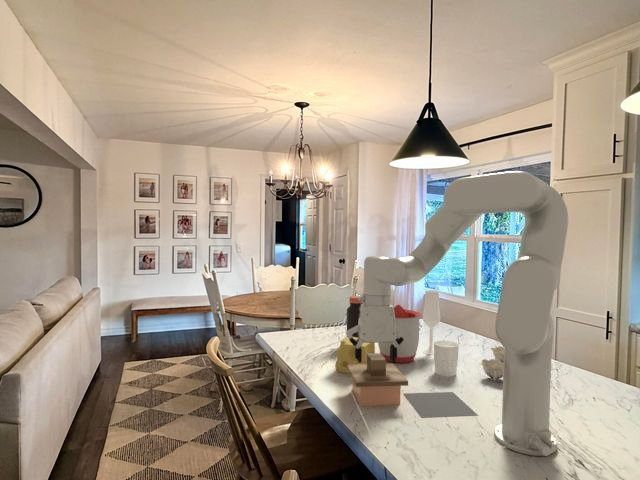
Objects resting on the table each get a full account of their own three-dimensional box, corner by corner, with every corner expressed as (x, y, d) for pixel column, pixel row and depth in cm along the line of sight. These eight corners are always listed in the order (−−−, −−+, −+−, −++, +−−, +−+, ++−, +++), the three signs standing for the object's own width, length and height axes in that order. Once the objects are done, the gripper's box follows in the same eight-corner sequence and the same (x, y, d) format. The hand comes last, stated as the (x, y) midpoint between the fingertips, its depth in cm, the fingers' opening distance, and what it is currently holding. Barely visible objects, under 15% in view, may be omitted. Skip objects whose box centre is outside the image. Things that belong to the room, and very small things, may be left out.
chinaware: (490, 362, 152) (486, 318, 152) (540, 365, 144) (536, 318, 144) (480, 388, 127) (476, 335, 127) (541, 393, 119) (536, 336, 120)
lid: (408, 385, 108) (408, 364, 108) (356, 387, 107) (356, 365, 107) (393, 367, 122) (393, 348, 122) (347, 368, 121) (347, 349, 121)
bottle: (363, 344, 168) (364, 295, 167) (363, 348, 161) (364, 298, 161) (346, 343, 169) (347, 295, 168) (346, 348, 162) (346, 298, 161)
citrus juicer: (377, 349, 161) (378, 299, 160) (422, 355, 154) (423, 302, 154) (366, 361, 146) (367, 305, 146) (415, 368, 140) (416, 310, 139)
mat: (478, 416, 104) (478, 415, 104) (421, 418, 102) (421, 417, 102) (452, 392, 119) (452, 391, 119) (402, 394, 117) (402, 393, 117)
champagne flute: (432, 356, 153) (434, 292, 153) (418, 351, 159) (419, 290, 158) (443, 352, 158) (444, 291, 157) (428, 348, 163) (430, 288, 162)
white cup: (459, 379, 130) (460, 347, 130) (434, 376, 132) (434, 346, 131) (456, 370, 138) (457, 341, 138) (432, 368, 139) (433, 339, 139)
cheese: (335, 372, 135) (335, 342, 135) (348, 362, 145) (348, 334, 145) (364, 377, 130) (364, 346, 130) (375, 367, 140) (376, 338, 140)
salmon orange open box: (400, 405, 110) (400, 383, 110) (360, 406, 109) (360, 384, 109) (388, 389, 121) (389, 369, 121) (352, 390, 120) (352, 370, 120)
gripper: (348, 303, 109) (348, 366, 110) (411, 302, 111) (410, 364, 112) (344, 298, 117) (343, 357, 117) (402, 297, 119) (401, 356, 119)
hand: (375, 360), depth 115 cm, fingers open, 9 cm apart
